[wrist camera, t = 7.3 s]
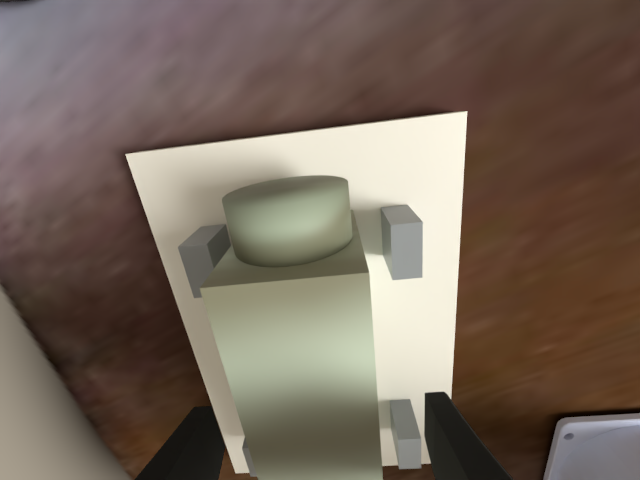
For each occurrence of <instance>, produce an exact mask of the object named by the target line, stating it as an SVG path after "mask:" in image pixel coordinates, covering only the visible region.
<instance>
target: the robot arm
mask: <svg viewBox="0 0 640 480" xmlns="http://www.w3.org/2000/svg"><path fill="white" fill-rule="evenodd" d="M424 437H425V441H426V445H427V449H428V453H429V457H430V461H431V465H432V469H433V473H434V476H435V479H436V480H513V478H512V477H511V476H510V475H509V474H508V473H507V471H506V470H505V469H504V468H503V467H502V465H501V464H500V463H499V462H498V461H497V459H496V458H495V457H494V456H493V454H492V453H491V452H490V451H489V450H488V448H487V447H486V446H485V445H484V443H483V442H482V441H481V440H480V438H479V437H478V436H477V435H476V433H475V432H474V431H473V429H472V428H471V427H470V425H469V424H468V423H467V421H466V420H465V419H464V417H463V416H462V415H461V413H460V412H459V410H458V409H457V408H456V406H455V405H454V403H453V402H452V400H451V399H450V397H449V396H448V394H447V393H445V392H428V393H425V420H424ZM224 450H225V444H224V442H223V439H222V436H221V433H220V430H219V427H218V424H217V421H216V418H215V416H214V413H213V410H212V407H211V406H205V407H194V408H193V409H192V410H191V412H190V413H189V414H188V415H187V416H186V418H185V419H184V420H183V421H182V423H181V424H180V425H179V426H178V427H177V429H176V430H175V431H174V432H173V434H172V435H171V436H170V437H169V439H168V440H167V441H166V442H165V444H164V445H163V446H162V447H161V449H160V450H159V451H158V452H157V453H156V455H155V456H154V457H153V458H152V459H151V461H150V462H149V463H148V464H147V465H146V467H145V468H144V469H143V470H142V471H141V473H140V474H139V475H138V476H137V477H136V479H135V480H218V478H219V474H220V469H221V465H222V460H223V455H224ZM543 480H640V413H634V414H617V415H599V416H582V417H566V418H563V419H560V420H559V421H558V422H557V425H556V429H555V433H554V437H553V441H552V445H551V449H550V454H549V458H548V462H547V466H546V470H545V474H544V478H543Z"/></svg>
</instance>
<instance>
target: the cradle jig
mask: <svg viewBox="0 0 640 480" xmlns="http://www.w3.org/2000/svg"><path fill="white" fill-rule="evenodd" d="M466 124H467V111H461V112H449V113H441V114H433V115H425V116H417V117H409V118H401V119H393V120H385V121H377V122H369V123H361V124H353V125H345V126H337V127H329V128H321V129H313V130H305V131H297V132H289V133H281V134H274V135H266V136H258V137H250V138H242V139H234V140H226V141H218V142H210V143H202V144H194V145H186V146H178V147H170V148H162V149H154V150H146V151H139V152H134V153H129V154H125V155H126V158H127V161H128V164H129V167H130V170H131V172H132V175H133V178H134V181H135V184H136V187H137V190H138V193H139V196H140V198H141V201H142V204H143V207H144V210H145V213H146V216H147V219H148V222H149V225H150V227H151V230H152V233H153V236H154V239H155V242H156V245H157V248H158V251H159V253H160V256H161V259H162V262H163V265H164V268H165V271H166V274H167V277H168V279H169V282H170V285H171V288H172V291H173V294H174V297H175V300H176V303H177V305H178V308H179V311H180V314H181V317H182V320H183V323H184V326H185V329H186V332H187V334H188V337H189V340H190V343H191V346H192V349H193V352H194V355H195V358H196V360H197V363H198V366H199V369H200V372H201V375H202V378H203V381H204V384H205V386H206V389H207V392H208V395H209V398H210V401H211V404H212V407H213V410H214V412H215V415H216V418H217V421H218V424H219V427H220V430H221V433H222V436H223V438H224V441H225V444H226V447H227V450H228V453H229V456H230V459H231V462H232V465H233V467H234V470H235V473H250V476H251V477H252V476H257V474H256V471H255V468H254V465H253V461H252V458H251V455H250V452H249V448H248V445H247V442H246V438H245V435H244V432H243V429H242V425H241V422H240V419H239V416H238V412H237V409H236V406H235V403H234V399H233V396H232V393H231V390H230V386H229V383H228V380H227V376H226V373H225V370H224V367H223V363H222V360H221V357H220V354H219V350H218V347H217V344H216V341H215V337H214V334H213V331H212V328H211V324H210V321H209V318H208V314H207V311H206V308H205V305H204V301H203V298H202V295H201V292H200V287H201V286H202V284H203V283H204V281H205V280H206V279H207V277H208V276H209V275H210V273H211V272H212V271H213V269H214V268H215V267H216V265H217V264H218V263H219V261H220V260H221V259H222V257H223V256H224V255H225V253H226V252H227V250H228V249H229V248H230V246H231V245H232V241H231V236H230V232H229V228H228V224H227V220H226V216H225V212H224V208H223V204H222V198H223V197H224V196H225V195H226V194H228V193H230V192H232V191H234V190H237V189H239V188H242V187H245V186H249V185H252V184H256V183H260V182H265V181H270V180H275V179H281V178H288V177H297V176H310V175H329V176H337V177H342V178H345V179H346V180H347V181H348V186H349V198H350V210H353V212H354V215H355V219H356V223H357V227H358V231H359V235H360V238H361V242H362V246H363V250H364V254H365V258H366V262H367V265H368V269H369V275H370V290H371V305H372V320H373V335H374V350H375V365H376V380H377V396H378V411H379V426H380V441H381V456H382V466H393V465H398V466H399V469H415V468H421V464H431V461H430V457H429V453H428V449H427V445H426V441H425V437H424V420H425V393H428V392H445V393H447V394H448V396H449V397H450V399H451V392H452V375H453V357H454V339H455V321H456V303H457V285H458V267H459V249H460V231H461V213H462V195H463V177H464V159H465V142H466Z"/></svg>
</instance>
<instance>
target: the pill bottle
mask: <svg viewBox="0 0 640 480" xmlns="http://www.w3.org/2000/svg"><path fill="white" fill-rule="evenodd" d="M10 1H24V0H0V2H10Z"/></svg>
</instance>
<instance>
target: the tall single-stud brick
mask: <svg viewBox="0 0 640 480" xmlns="http://www.w3.org/2000/svg"><path fill="white" fill-rule="evenodd" d="M222 204H223V208H224V212H225V216H226V220H227V224H228V228H229V232H230V236H231V241H232V245H231V246H230V248H229V249H228V250H227V252H226V253H225V255H224V256H223V257H222V259H221V260H220V261H219V263H218V264H217V265H216V267H215V268H214V269H213V271H212V272H211V273H210V275H209V276H208V277H207V279H206V280H205V281H204V283H203V284H202V286H201V287H200V292H201V295H202V298H203V301H204V305H205V308H206V311H207V314H208V318H209V321H210V324H211V328H212V331H213V334H214V337H215V341H216V344H217V347H218V350H219V354H220V357H221V360H222V363H223V367H224V370H225V373H226V376H227V380H228V383H229V386H230V390H231V393H232V396H233V399H234V403H235V406H236V409H237V412H238V416H239V419H240V422H241V425H242V429H243V432H244V435H245V438H246V442H247V445H248V448H249V452H250V455H251V458H252V461H253V465H254V468H255V471H256V474H257V478H258V480H383V471H382V456H381V441H380V426H379V411H378V396H377V380H376V365H375V350H374V335H373V320H372V305H371V290H370V275H369V269H368V265H367V262H366V258H365V254H364V250H363V246H362V242H361V238H360V235H359V231H358V227H357V223H356V219H355V215H354V212H353V210H350V198H349V186H348V181H347V180H346V179H345V178H342V177H337V176H329V175H310V176H297V177H288V178H281V179H275V180H270V181H265V182H260V183H256V184H252V185H249V186H245V187H242V188H239V189H237V190H234V191H232V192H230V193H228V194H226V195H225V196H224V197H223V198H222Z"/></svg>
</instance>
